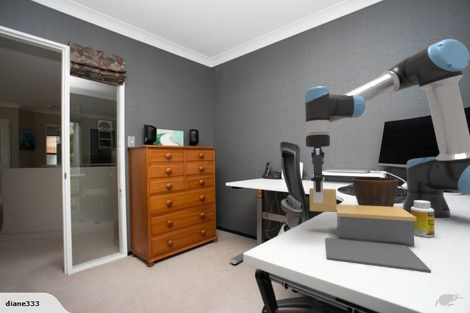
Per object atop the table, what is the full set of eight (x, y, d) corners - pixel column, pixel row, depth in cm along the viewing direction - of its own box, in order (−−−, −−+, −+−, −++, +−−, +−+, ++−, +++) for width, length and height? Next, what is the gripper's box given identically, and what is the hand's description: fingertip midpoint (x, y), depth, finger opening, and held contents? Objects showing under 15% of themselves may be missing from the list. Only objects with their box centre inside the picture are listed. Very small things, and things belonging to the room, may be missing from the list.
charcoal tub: (399, 232, 71) (398, 210, 71) (414, 246, 60) (413, 220, 60) (337, 227, 77) (336, 207, 77) (340, 239, 66) (339, 215, 66)
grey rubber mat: (406, 247, 59) (406, 245, 59) (431, 272, 46) (430, 270, 46) (325, 239, 67) (325, 237, 67) (326, 259, 54) (326, 257, 54)
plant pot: (397, 229, 74) (396, 181, 74) (348, 222, 84) (347, 179, 84) (401, 219, 85) (400, 177, 85) (358, 214, 95) (357, 176, 95)
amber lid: (400, 215, 71) (399, 188, 71) (416, 226, 59) (415, 194, 59) (311, 210, 81) (310, 186, 81) (309, 219, 69) (308, 191, 69)
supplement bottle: (431, 239, 65) (430, 203, 65) (408, 234, 69) (407, 201, 70) (437, 235, 68) (436, 201, 68) (415, 230, 73) (414, 199, 73)
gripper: (307, 138, 87) (308, 193, 87) (302, 131, 64) (304, 205, 63) (328, 137, 84) (329, 194, 84) (331, 129, 61) (332, 207, 61)
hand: (318, 199), depth 74 cm, fingers open, 13 cm apart
